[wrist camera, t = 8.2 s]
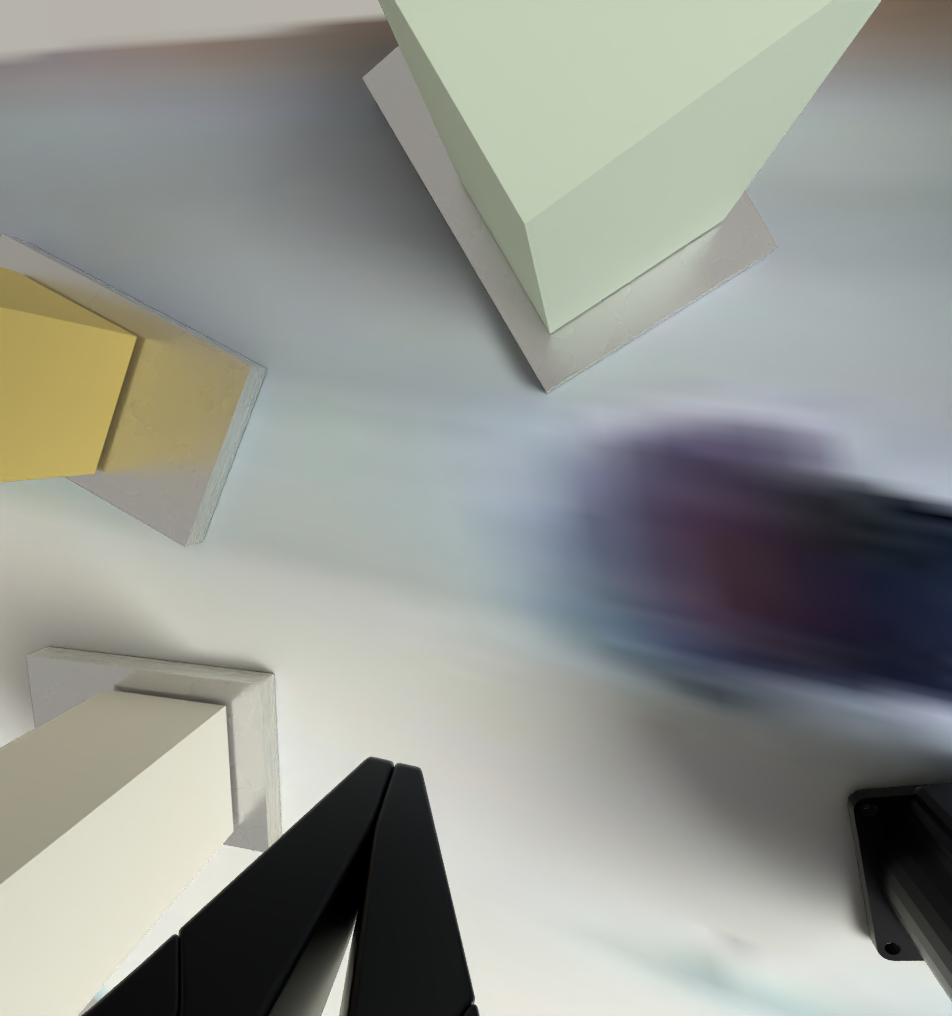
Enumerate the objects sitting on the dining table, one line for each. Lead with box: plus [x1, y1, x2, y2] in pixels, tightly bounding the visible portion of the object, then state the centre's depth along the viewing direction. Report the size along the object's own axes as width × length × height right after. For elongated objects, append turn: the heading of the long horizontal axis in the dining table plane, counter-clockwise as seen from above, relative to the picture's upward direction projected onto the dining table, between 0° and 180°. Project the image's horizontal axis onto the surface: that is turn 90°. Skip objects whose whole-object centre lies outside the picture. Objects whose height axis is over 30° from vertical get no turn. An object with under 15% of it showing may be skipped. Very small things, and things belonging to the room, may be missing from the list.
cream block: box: [0, 690, 234, 1016], centre depth 18 cm, size 6×6×9 cm
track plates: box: [0, 46, 777, 852], centre depth 20 cm, size 30×35×1 cm
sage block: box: [379, 0, 881, 334], centre depth 11 cm, size 6×6×9 cm
